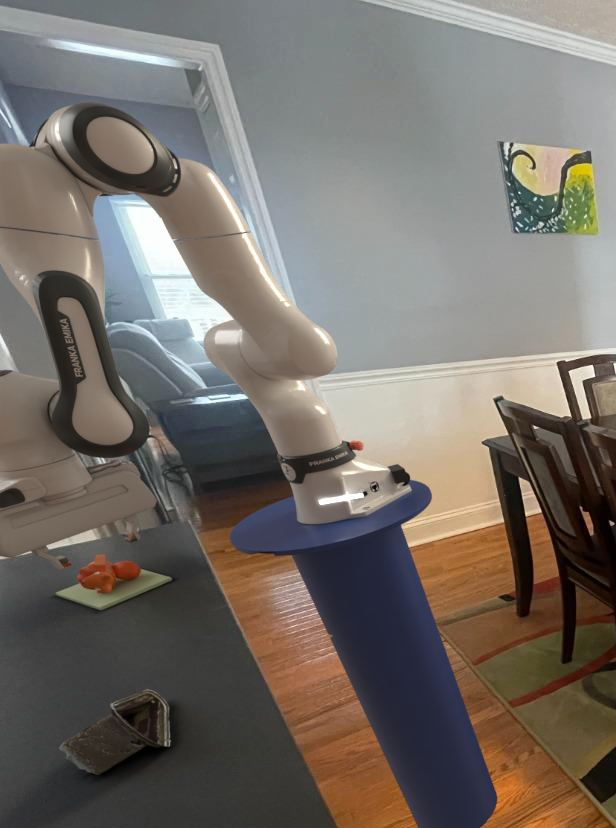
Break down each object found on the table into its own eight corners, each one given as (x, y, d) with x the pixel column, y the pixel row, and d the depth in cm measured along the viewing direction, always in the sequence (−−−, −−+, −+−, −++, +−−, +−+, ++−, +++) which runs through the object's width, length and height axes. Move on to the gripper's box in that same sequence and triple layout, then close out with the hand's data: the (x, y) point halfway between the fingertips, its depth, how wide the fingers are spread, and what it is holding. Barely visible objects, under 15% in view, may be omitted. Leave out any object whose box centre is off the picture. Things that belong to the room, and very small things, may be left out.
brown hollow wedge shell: (94, 729, 72) (10, 725, 61) (158, 689, 75) (89, 678, 64) (141, 789, 72) (66, 796, 61) (204, 747, 75) (143, 746, 64)
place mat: (128, 567, 109) (127, 564, 109) (172, 580, 104) (171, 577, 104) (57, 595, 101) (54, 592, 101) (100, 610, 96) (98, 607, 96)
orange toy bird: (76, 549, 102) (75, 572, 95) (138, 546, 108) (141, 568, 100) (79, 576, 104) (78, 601, 96) (140, 572, 109) (144, 596, 101)
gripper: (119, 453, 103) (162, 523, 110) (-53, 502, 87) (10, 581, 94) (138, 457, 101) (181, 528, 108) (-35, 507, 85) (29, 588, 92)
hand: (100, 553), depth 101 cm, fingers open, 8 cm apart
